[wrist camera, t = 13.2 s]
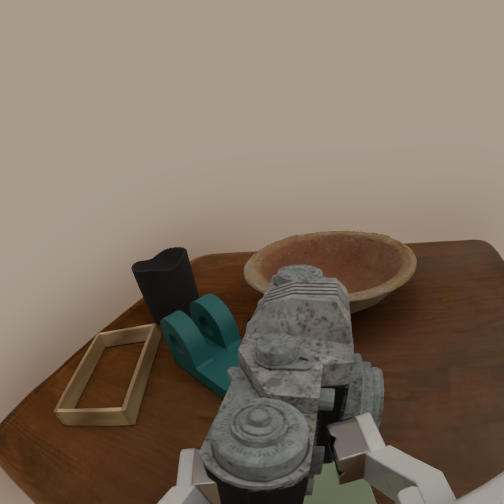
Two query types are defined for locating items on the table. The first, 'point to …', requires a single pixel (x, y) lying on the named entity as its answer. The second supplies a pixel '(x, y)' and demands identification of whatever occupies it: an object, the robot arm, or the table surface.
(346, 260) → the bowl
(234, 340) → the bracket
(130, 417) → the rectangular wooden frame
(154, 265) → the pen holder
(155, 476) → the table surface
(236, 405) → the camera
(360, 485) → the mat
